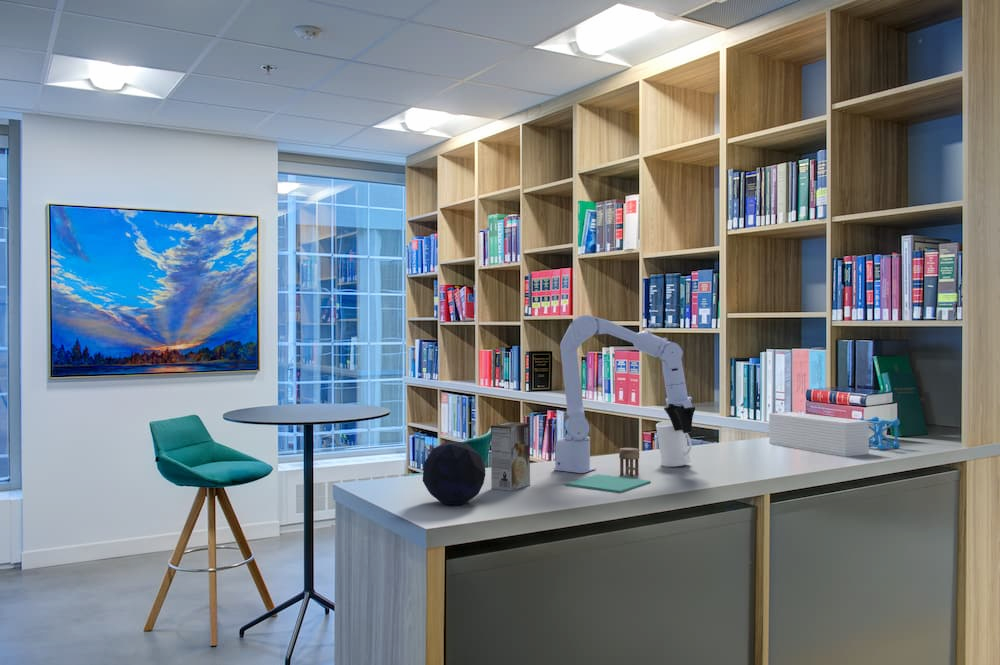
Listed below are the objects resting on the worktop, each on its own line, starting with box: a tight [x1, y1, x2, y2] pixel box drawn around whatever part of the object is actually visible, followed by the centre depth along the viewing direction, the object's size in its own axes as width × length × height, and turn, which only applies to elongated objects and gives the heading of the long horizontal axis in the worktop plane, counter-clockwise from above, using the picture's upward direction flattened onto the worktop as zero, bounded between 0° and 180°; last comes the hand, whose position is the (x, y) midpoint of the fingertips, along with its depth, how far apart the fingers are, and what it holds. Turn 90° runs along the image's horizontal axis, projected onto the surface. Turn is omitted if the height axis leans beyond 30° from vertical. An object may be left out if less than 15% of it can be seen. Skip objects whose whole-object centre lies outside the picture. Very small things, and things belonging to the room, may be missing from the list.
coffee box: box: [490, 421, 531, 492], centre depth 201 cm, size 9×6×16 cm
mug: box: [655, 419, 693, 468], centre depth 230 cm, size 12×8×12 cm
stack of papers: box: [768, 411, 870, 457], centre depth 264 cm, size 32×11×11 cm, turn 26°
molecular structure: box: [856, 415, 901, 451], centre depth 265 cm, size 10×10×10 cm
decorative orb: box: [422, 441, 486, 506], centre depth 182 cm, size 14×15×15 cm
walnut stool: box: [618, 447, 640, 477], centre depth 217 cm, size 5×5×7 cm
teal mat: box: [564, 473, 651, 494], centre depth 204 cm, size 16×16×1 cm
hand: (683, 431), depth 223 cm, fingers open, 6 cm apart
